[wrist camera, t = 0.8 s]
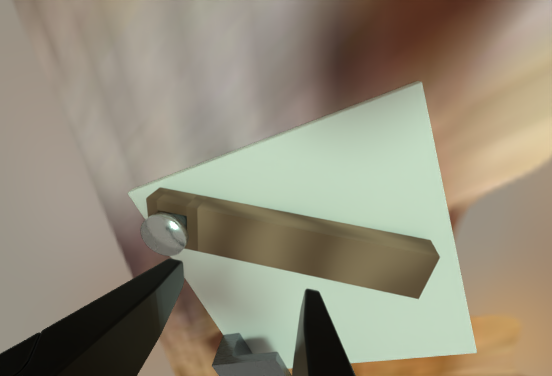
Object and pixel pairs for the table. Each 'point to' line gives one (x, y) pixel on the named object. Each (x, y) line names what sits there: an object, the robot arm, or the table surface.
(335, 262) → the link
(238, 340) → the keeper
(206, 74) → the table surface
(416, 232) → the base plate
